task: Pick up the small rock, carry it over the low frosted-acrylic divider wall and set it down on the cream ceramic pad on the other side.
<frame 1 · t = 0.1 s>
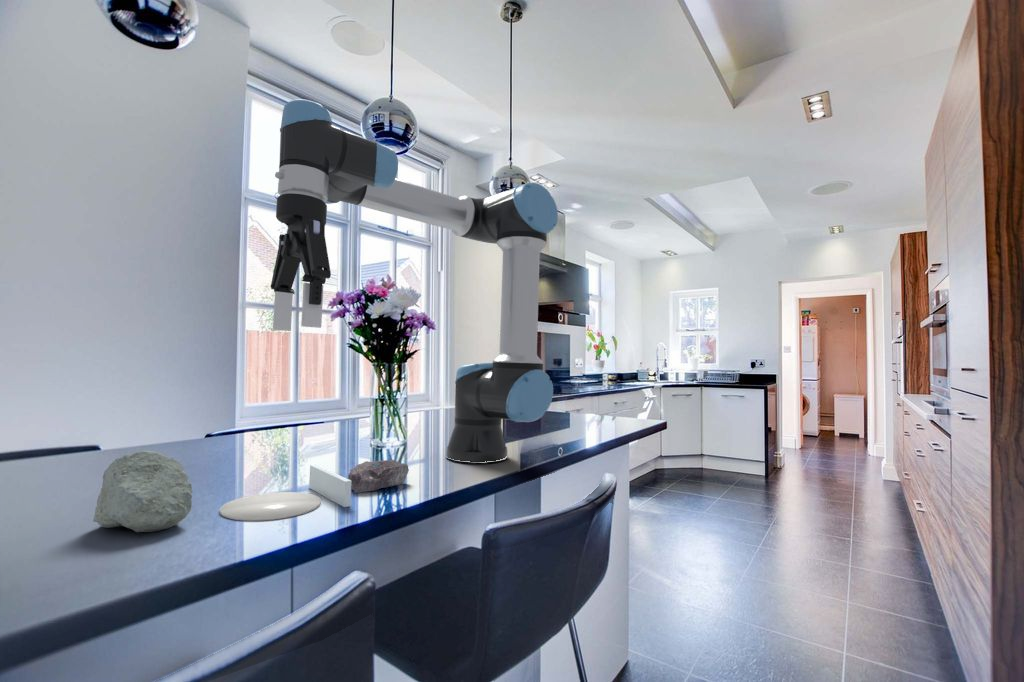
hand: (295, 329, 77), 28 cm above the counter, fingers open, 13 cm apart
decorative stone: (142, 527, 65), on the counter
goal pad: (272, 506, 75), on the counter
rock: (376, 487, 90), on the counter
divider wall: (328, 496, 81), on the counter
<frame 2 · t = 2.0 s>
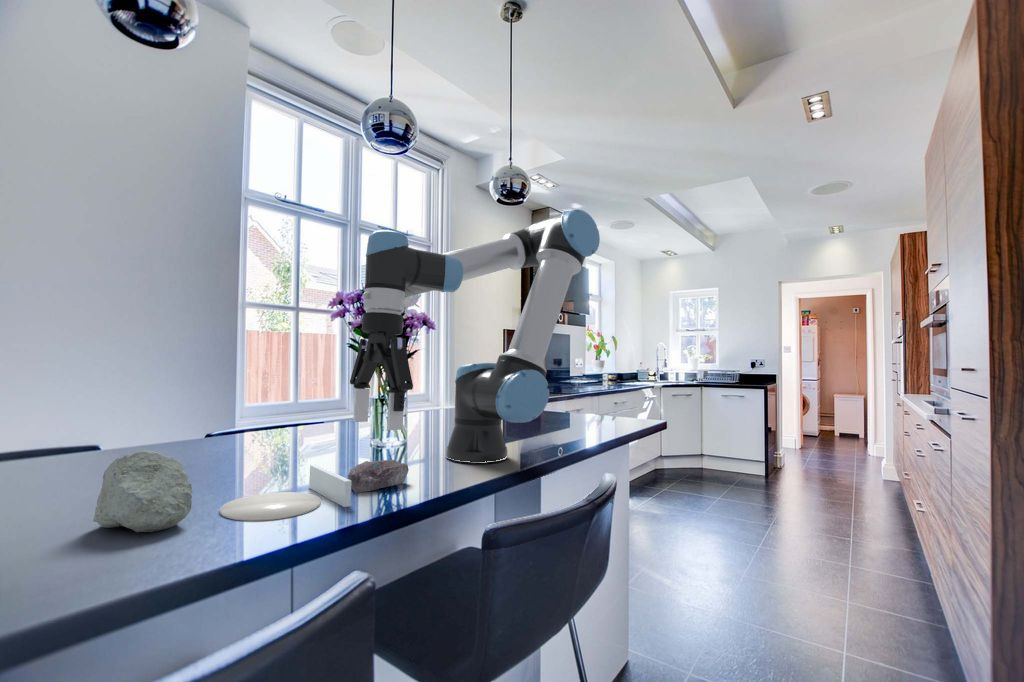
hand: (376, 425, 90), 11 cm above the counter, fingers open, 13 cm apart
nothing on the counter moved.
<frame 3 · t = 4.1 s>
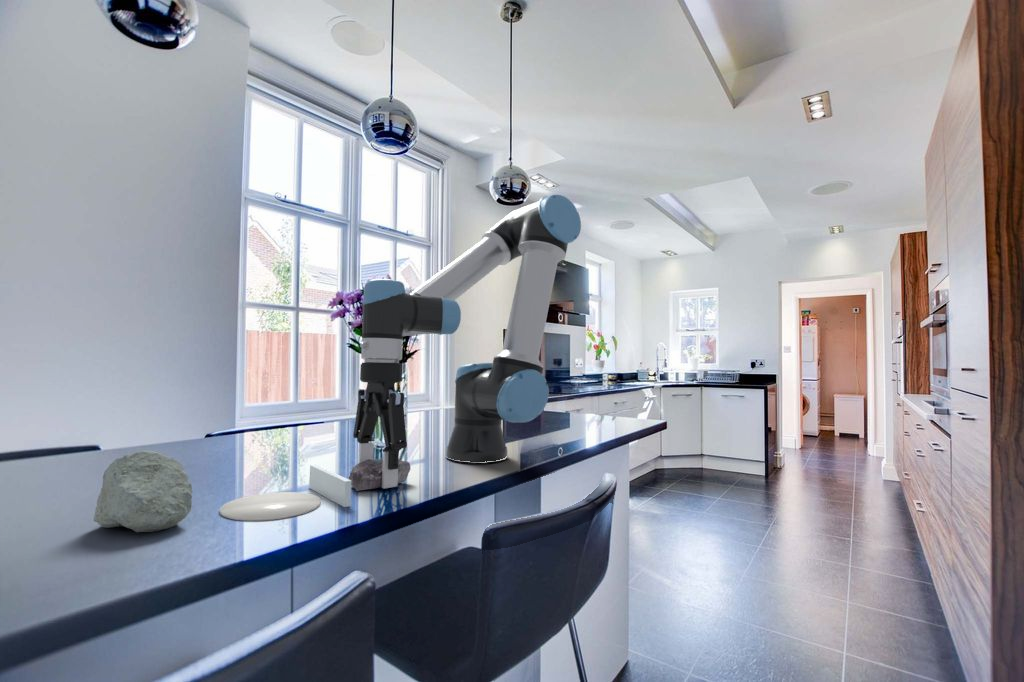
hand: (376, 481, 90), 1 cm above the counter, fingers closed on rock, 9 cm apart
rock: (377, 485, 90), on the counter, touching gripper
everything else where it was.
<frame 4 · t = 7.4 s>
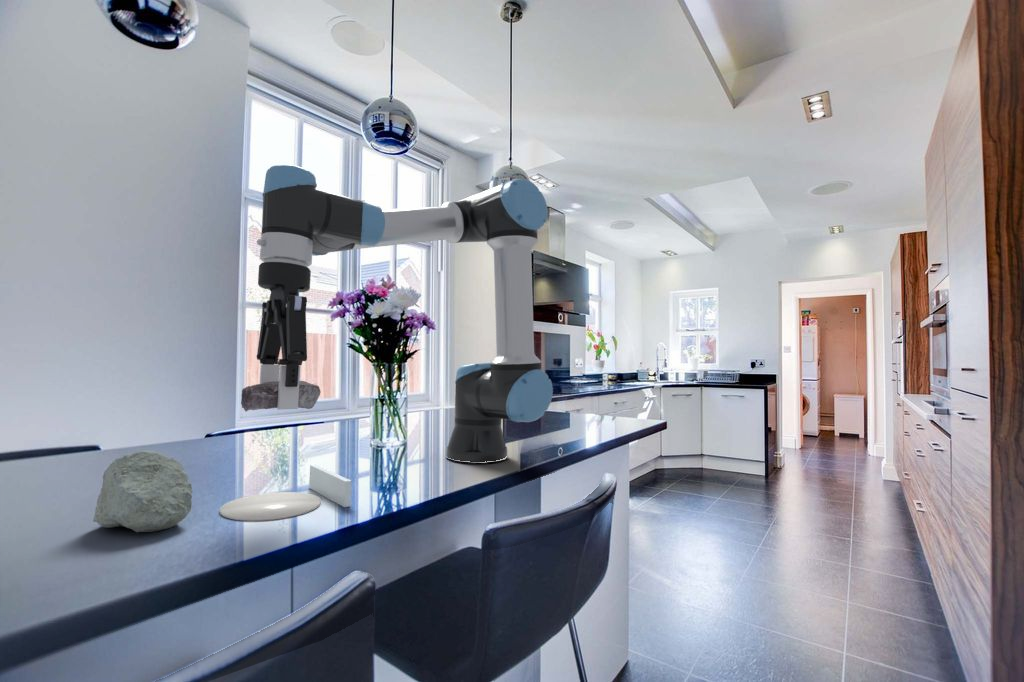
hand: (277, 406, 76), 16 cm above the counter, fingers closed on rock, 9 cm apart
rock: (278, 410, 76), point 15 cm above the counter, touching gripper
everything else where it was.
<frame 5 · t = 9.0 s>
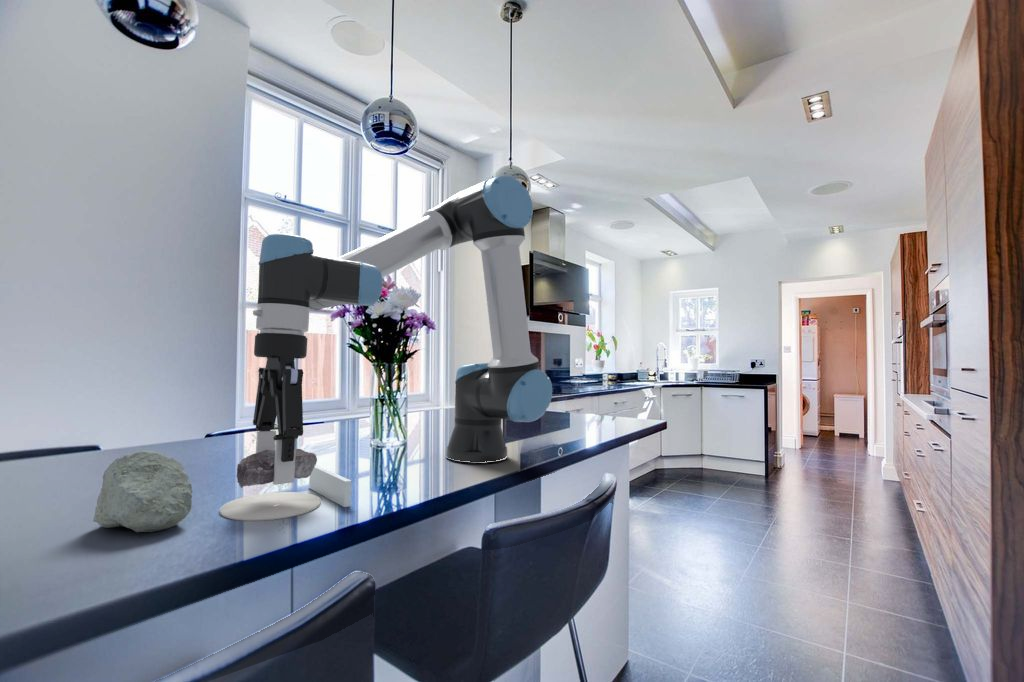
hand: (273, 476, 75), 5 cm above the counter, fingers closed on rock, 9 cm apart
rock: (274, 480, 75), point 4 cm above the counter, touching gripper
everything else where it was.
when the fingers open (2 cm above the counter, at t = 10.5 s): rock drops 1 cm, resting on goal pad.
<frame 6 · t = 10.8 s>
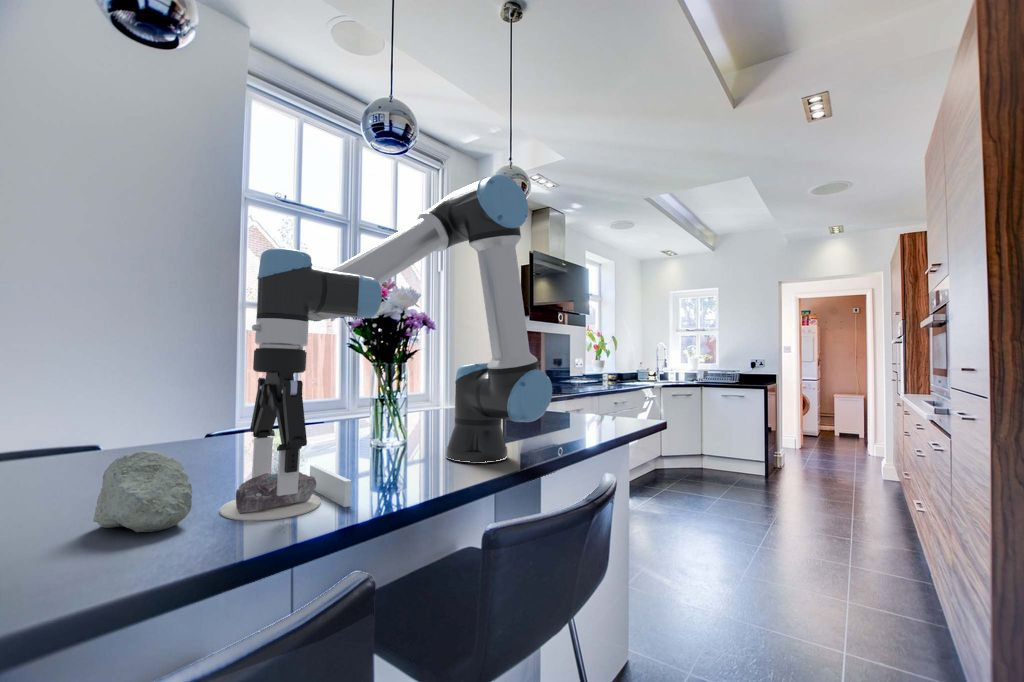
hand: (273, 485, 75), 3 cm above the counter, fingers open, 12 cm apart
rock: (273, 505, 75), resting on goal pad
everything else where it was.
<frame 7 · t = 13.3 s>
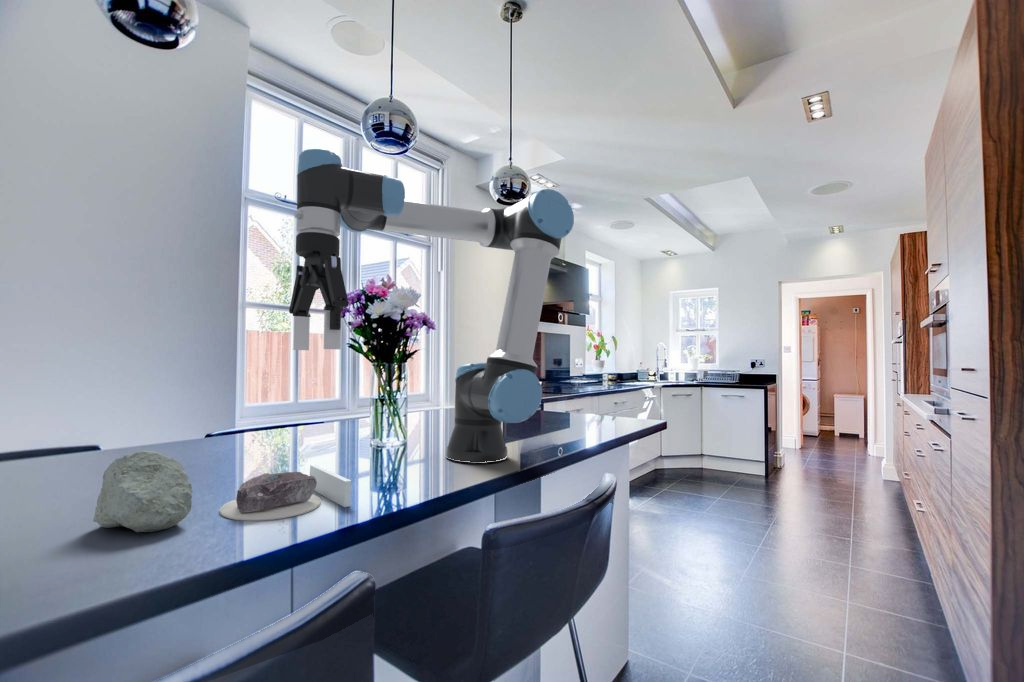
hand: (315, 349, 88), 25 cm above the counter, fingers open, 13 cm apart
nothing on the counter moved.
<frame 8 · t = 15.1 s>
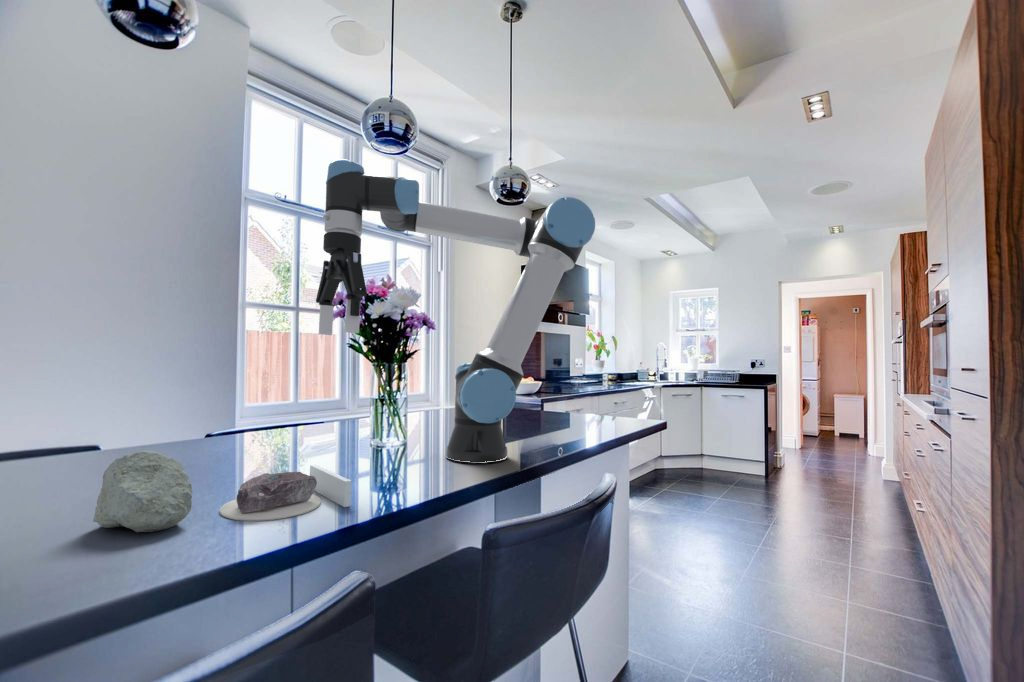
hand: (337, 333, 102), 29 cm above the counter, fingers open, 13 cm apart
nothing on the counter moved.
at the end: rock 0.3 cm from the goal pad (horizontally); rock touching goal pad; the gripper is holding nothing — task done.
